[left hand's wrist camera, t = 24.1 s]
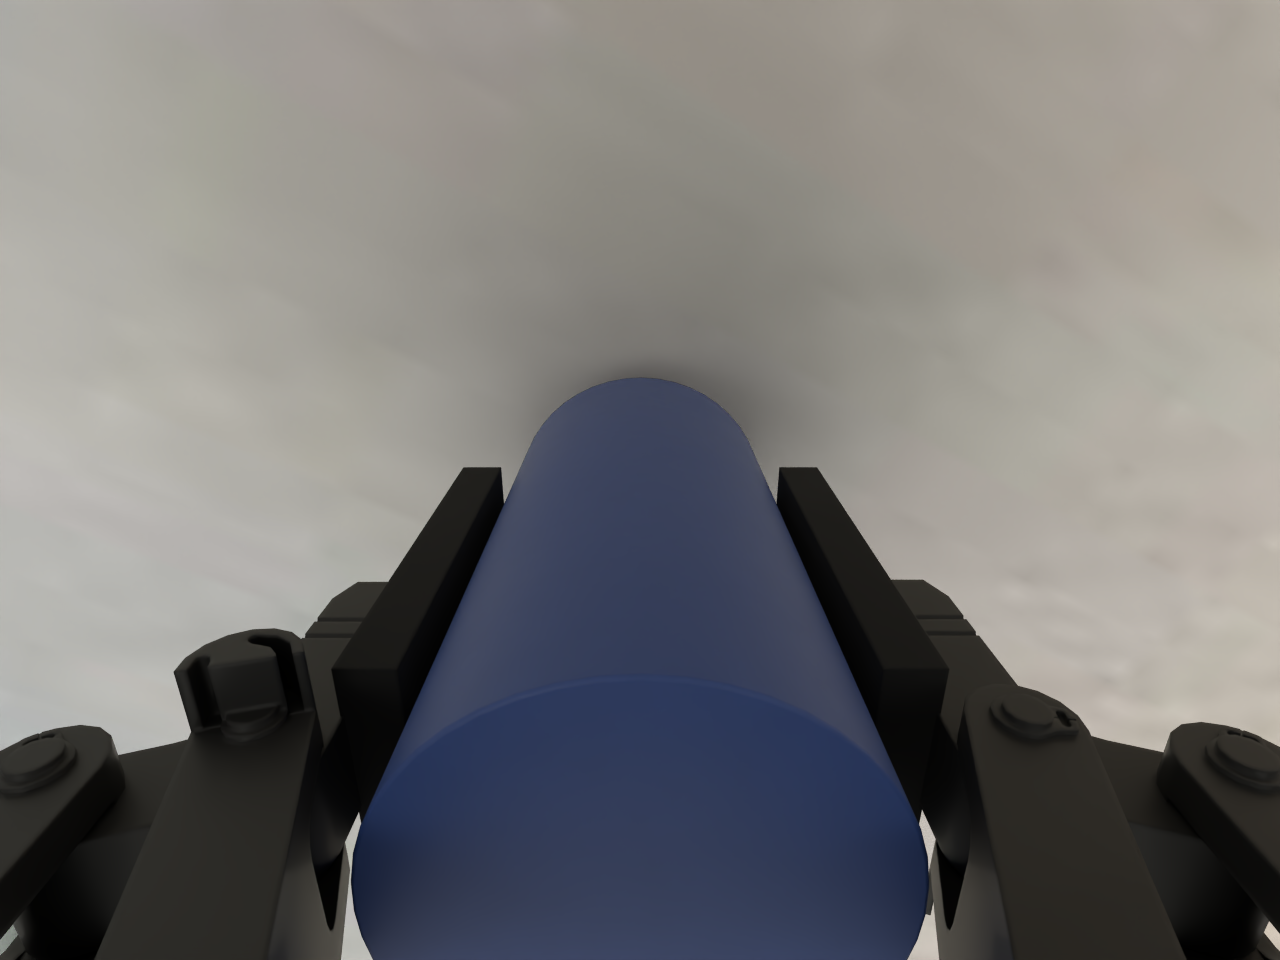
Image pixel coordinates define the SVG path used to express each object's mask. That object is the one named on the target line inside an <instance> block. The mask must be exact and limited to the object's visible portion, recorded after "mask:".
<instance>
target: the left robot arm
mask: <svg viewBox="0 0 1280 960" xmlns="http://www.w3.org/2000/svg"><path fill="white" fill-rule="evenodd" d="M503 506H504V499H503V486H502V473H501V467H464V468H463V469H462V471H461V472H460V474H459V475H458V477H457V478H456V480H455V481H454V483H453V484H452V486H451V487H450V489H449V490H448V492H447V493H446V495H445V496H444V498H443V499H442V501H441V503H440V504H439V506H438V507H437V509H436V510H435V512H434V513H433V515H432V516H431V518H430V519H429V521H428V522H427V524H426V525H425V527H424V528H423V530H422V531H421V533H420V534H419V536H418V537H417V539H416V541H415V542H414V544H413V545H412V547H411V548H410V550H409V551H408V553H407V554H406V556H405V557H404V559H403V560H402V562H401V563H400V565H399V566H398V568H397V569H396V571H395V572H394V574H393V575H392V577H391V579H390V580H389V582H357V583H356V584H354V585H353V586H351V587H349V588H348V589H346V590H345V591H343V592H342V593H340V594H339V595H337V596H336V597H334V598H333V599H332V600H331V601H330V603H329V604H328V605H327V606H326V608H325V609H324V610H323V612H322V613H321V614H320V615H319V617H318V621H317V622H314V623H313V625H312V626H311V627H310V628H309V630H308V631H307V632H306V634H305V638H302V639H300V638H299V637H298V636H296V635H295V634H294V633H292V632H289V631H284V630H280V629H275V628H274V629H253V630H248V631H244V632H240V633H236V634H231V635H228V636H225V637H223V638H220V639H218V640H216V641H213V642H211V643H208V644H206V645H204V646H202V647H201V648H199V649H198V650H196V651H195V652H193V653H192V654H190V655H189V656H187V657H186V658H185V659H184V660H183V661H182V662H181V664H180V665H179V666H178V667H177V668H176V670H175V671H174V675H175V678H176V682H177V685H178V688H179V692H180V695H181V699H182V702H183V705H184V709H185V712H186V715H187V719H188V722H189V726H190V729H191V734H190V736H189V738H188V740H184V741H181V742H177V743H173V744H169V745H164V746H159V747H154V748H150V749H145V750H140V751H136V752H131V753H126V754H122V755H118V754H117V751H116V748H115V745H114V742H113V739H112V737H111V735H110V734H108V733H107V732H106V731H104V730H103V729H102V728H100V727H93V726H85V725H77V726H70V727H63V728H56V729H52V730H49V731H45V732H42V733H40V734H35V735H32V736H30V737H27V738H25V739H23V740H21V741H19V742H17V743H15V744H13V745H11V746H9V747H7V748H6V749H4V750H2V751H0V939H1V938H2V937H3V936H4V934H5V933H6V932H7V931H8V930H9V928H10V927H11V926H12V925H14V927H15V929H16V931H17V933H18V936H17V937H16V938H15V940H14V941H13V942H12V943H11V945H10V946H9V947H8V948H7V950H6V951H5V952H3V953H2V954H1V955H0V960H341V953H342V943H343V933H344V924H345V914H346V904H347V894H348V884H349V874H350V867H349V861H348V855H347V850H346V845H345V841H346V839H347V836H348V834H349V832H350V830H351V828H352V826H353V823H354V821H355V819H356V817H357V815H358V812H359V814H360V819H361V823H362V821H363V819H364V817H365V814H366V812H367V810H368V808H369V805H370V803H371V801H372V799H373V797H374V794H375V792H376V790H377V788H378V785H379V783H380V781H381V779H382V776H383V774H384V772H385V770H386V767H387V765H388V763H389V761H390V759H391V756H392V754H393V752H394V750H395V747H396V745H397V743H398V741H399V738H400V736H401V734H402V732H403V729H404V727H405V725H406V723H407V720H408V718H409V716H410V714H411V712H412V709H413V707H414V705H415V703H416V700H417V698H418V696H419V694H420V691H421V689H422V687H423V685H424V682H425V680H426V678H427V676H428V673H429V671H430V669H431V667H432V665H433V662H434V660H435V658H436V656H437V653H438V651H439V649H440V647H441V644H442V642H443V640H444V638H445V635H446V633H447V631H448V629H449V626H450V624H451V622H452V620H453V618H454V615H455V613H456V611H457V609H458V606H459V604H460V602H461V600H462V597H463V595H464V593H465V591H466V588H467V586H468V584H469V582H470V580H471V577H472V575H473V573H474V571H475V568H476V566H477V564H478V562H479V559H480V557H481V555H482V553H483V550H484V548H485V546H486V544H487V541H488V539H489V537H490V535H491V533H492V530H493V528H494V526H495V524H496V521H497V519H498V517H499V515H500V512H501V510H502V508H503ZM777 507H778V509H779V511H780V513H781V516H782V518H783V520H784V522H785V525H786V527H787V529H788V531H789V534H790V536H791V538H792V540H793V543H794V545H795V547H796V549H797V552H798V554H799V556H800V558H801V561H802V563H803V565H804V567H805V570H806V572H807V574H808V576H809V579H810V581H811V583H812V585H813V588H814V590H815V592H816V594H817V597H818V599H819V601H820V603H821V606H822V608H823V610H824V612H825V615H826V617H827V619H828V621H829V624H830V626H831V628H832V630H833V633H834V635H835V637H836V639H837V642H838V644H839V646H840V648H841V651H842V653H843V655H844V657H845V660H846V662H847V664H848V666H849V669H850V671H851V673H852V675H853V678H854V680H855V682H856V684H857V687H858V689H859V691H860V693H861V696H862V698H863V700H864V702H865V705H866V707H867V709H868V711H869V714H870V716H871V718H872V720H873V723H874V725H875V727H876V729H877V732H878V734H879V736H880V738H881V741H882V743H883V745H884V747H885V750H886V752H887V754H888V756H889V758H890V761H891V763H892V765H893V767H894V770H895V772H896V774H897V776H898V779H899V781H900V783H901V785H902V788H903V790H904V792H905V794H906V797H907V799H908V801H909V803H910V806H911V808H912V810H913V812H914V815H915V817H916V819H917V821H918V824H919V822H920V817H921V811H922V810H923V812H924V814H925V817H926V819H927V821H928V823H929V825H930V827H931V830H932V832H933V834H934V836H935V838H936V841H935V845H934V850H933V855H932V860H931V864H930V869H929V892H928V899H927V907H926V914H928V915H931V910H932V906H933V902H934V912H935V922H936V931H937V941H938V951H939V960H1280V951H1279V950H1278V949H1277V948H1276V947H1275V946H1274V945H1273V943H1272V942H1271V941H1270V940H1269V938H1268V937H1267V936H1266V935H1265V933H1264V931H1265V929H1266V926H1267V924H1268V922H1269V921H1270V922H1271V924H1272V925H1273V926H1274V927H1275V928H1276V930H1277V931H1278V932H1279V933H1280V747H1279V746H1277V745H1275V744H1273V743H1271V742H1269V741H1267V740H1265V739H1262V738H1261V737H1259V736H1257V735H1255V734H1252V733H1250V732H1247V731H1242V730H1240V729H1237V728H1233V727H1229V726H1225V725H1218V724H1211V723H1204V722H1198V723H1189V724H1181V725H1180V726H1179V727H1177V728H1176V729H1175V730H1173V731H1172V732H1171V733H1170V736H1169V739H1168V741H1167V744H1166V747H1165V750H1164V752H1159V751H1154V750H1149V749H1145V748H1140V747H1135V746H1131V745H1126V744H1121V743H1117V742H1112V741H1107V740H1104V739H1100V738H1096V737H1093V736H1091V735H1090V732H1089V730H1088V729H1087V728H1086V726H1085V725H1084V723H1083V722H1082V721H1081V719H1080V718H1079V716H1078V715H1077V714H1075V713H1074V712H1073V711H1071V710H1070V709H1069V708H1067V707H1066V706H1065V705H1063V704H1062V703H1061V702H1059V701H1057V700H1055V699H1053V698H1051V697H1049V696H1047V695H1045V694H1043V693H1040V692H1038V691H1035V690H1032V689H1028V688H1024V687H1020V686H1018V685H1017V684H1016V683H1015V681H1014V680H1013V679H1012V678H1011V676H1010V675H1009V674H1008V672H1007V671H1006V670H1005V669H1004V667H1003V666H1002V665H1001V663H1000V662H999V661H998V660H997V658H996V657H995V656H994V654H993V653H992V652H991V651H990V649H989V648H988V647H987V645H986V644H985V643H984V642H983V640H982V639H981V638H980V636H976V631H975V630H974V629H973V627H972V626H971V625H970V623H969V622H968V621H967V620H966V619H963V614H962V613H961V612H960V611H959V609H958V608H957V607H956V605H955V604H954V603H953V602H952V600H951V599H950V598H949V596H947V595H946V594H944V593H943V592H941V591H940V590H938V589H936V588H935V587H933V586H932V585H930V584H929V583H927V582H926V581H924V580H891V579H890V578H889V576H888V575H887V573H886V572H885V570H884V569H883V567H882V566H881V564H880V562H879V561H878V559H877V558H876V556H875V555H874V553H873V552H872V550H871V549H870V547H869V546H868V544H867V543H866V541H865V540H864V538H863V537H862V535H861V534H860V532H859V531H858V529H857V528H856V526H855V524H854V523H853V521H852V520H851V518H850V517H849V515H848V514H847V512H846V511H845V509H844V508H843V506H842V505H841V503H840V502H839V500H838V499H837V497H836V496H835V494H834V493H833V491H832V490H831V488H830V486H829V485H828V483H827V482H826V480H825V479H824V477H823V476H822V474H821V473H820V471H819V470H818V468H817V467H779V480H778V493H777Z"/></svg>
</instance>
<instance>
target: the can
mask: <svg viewBox="0 0 1280 960" xmlns="http://www.w3.org/2000/svg"><path fill="white" fill-rule="evenodd" d="M351 887H352V896H353V905H354V912H355V916H356V919H357V922H358V926H359V929H360V932H361V936H362V938H363V940H364V942H365V944H366V946H367V948H368V950H369V952H370V954H371V956H372V958H373V960H907V959H908V957H909V955H910V953H911V951H912V949H913V947H914V945H915V943H916V942H917V939H918V936H919V933H920V930H921V927H922V924H923V921H924V918H925V914H926V907H927V899H928V892H929V871H928V856H927V852H926V848H925V844H924V840H923V836H922V831H921V828H920V826H919V824H918V821H917V819H916V817H915V815H914V812H913V810H912V808H911V806H910V803H909V801H908V799H907V797H906V794H905V792H904V790H903V788H902V785H901V783H900V781H899V779H898V776H897V774H896V772H895V770H894V767H893V765H892V763H891V761H890V758H889V756H888V754H887V752H886V750H885V747H884V745H883V743H882V741H881V738H880V736H879V734H878V732H877V729H876V727H875V725H874V723H873V720H872V718H871V716H870V714H869V711H868V709H867V707H866V705H865V702H864V700H863V698H862V696H861V693H860V691H859V689H858V687H857V684H856V682H855V680H854V678H853V675H852V673H851V671H850V669H849V666H848V664H847V662H846V660H845V657H844V655H843V653H842V651H841V648H840V646H839V644H838V642H837V639H836V637H835V635H834V633H833V630H832V628H831V626H830V624H829V621H828V619H827V617H826V615H825V612H824V610H823V608H822V606H821V603H820V601H819V599H818V597H817V594H816V592H815V590H814V588H813V585H812V583H811V581H810V579H809V576H808V574H807V572H806V570H805V567H804V565H803V563H802V561H801V558H800V556H799V554H798V552H797V549H796V547H795V545H794V543H793V540H792V538H791V536H790V534H789V531H788V529H787V527H786V525H785V522H784V520H783V518H782V516H781V513H780V511H779V509H778V507H777V504H776V502H775V500H774V498H773V495H772V493H771V491H770V489H769V486H768V484H767V482H766V480H765V477H764V475H763V473H762V471H761V468H760V466H759V464H758V462H757V459H756V457H755V455H754V453H753V450H752V448H751V446H750V444H749V441H748V439H747V438H746V436H745V434H744V433H743V431H742V430H741V428H740V427H739V425H738V424H737V423H736V422H735V420H734V419H733V418H732V417H731V416H730V415H729V414H728V413H727V412H726V411H725V410H724V409H723V408H722V407H721V406H719V405H718V404H717V403H716V402H714V401H713V400H711V399H710V398H708V397H707V396H705V395H704V394H702V393H700V392H698V391H696V390H694V389H692V388H690V387H687V386H684V385H681V384H678V383H675V382H671V381H666V380H661V379H653V378H627V379H620V380H615V381H610V382H606V383H603V384H600V385H597V386H594V387H591V388H589V389H587V390H585V391H583V392H581V393H579V394H577V395H576V396H574V397H573V398H571V399H570V400H568V401H566V402H565V403H564V404H563V405H561V406H560V407H559V408H558V409H557V410H556V411H555V412H553V413H552V415H551V416H550V417H549V418H548V419H547V420H546V421H545V423H544V424H543V425H542V426H541V428H540V429H539V431H538V433H537V434H536V436H535V437H534V439H533V441H532V443H531V446H530V448H529V450H528V452H527V454H526V456H525V459H524V461H523V463H522V465H521V468H520V470H519V472H518V474H517V477H516V479H515V481H514V483H513V486H512V488H511V490H510V492H509V494H508V497H507V499H506V501H505V503H504V506H503V508H502V510H501V512H500V515H499V517H498V519H497V521H496V524H495V526H494V528H493V530H492V533H491V535H490V537H489V539H488V541H487V544H486V546H485V548H484V550H483V553H482V555H481V557H480V559H479V562H478V564H477V566H476V568H475V571H474V573H473V575H472V577H471V580H470V582H469V584H468V586H467V588H466V591H465V593H464V595H463V597H462V600H461V602H460V604H459V606H458V609H457V611H456V613H455V615H454V618H453V620H452V622H451V624H450V626H449V629H448V631H447V633H446V635H445V638H444V640H443V642H442V644H441V647H440V649H439V651H438V653H437V656H436V658H435V660H434V662H433V665H432V667H431V669H430V671H429V673H428V676H427V678H426V680H425V682H424V685H423V687H422V689H421V691H420V694H419V696H418V698H417V700H416V703H415V705H414V707H413V709H412V712H411V714H410V716H409V718H408V720H407V723H406V725H405V727H404V729H403V732H402V734H401V736H400V738H399V741H398V743H397V745H396V747H395V750H394V752H393V754H392V756H391V759H390V761H389V763H388V765H387V767H386V770H385V772H384V774H383V776H382V779H381V781H380V783H379V785H378V788H377V790H376V792H375V794H374V797H373V799H372V801H371V803H370V805H369V808H368V810H367V812H366V814H365V817H364V819H363V821H362V823H361V826H360V829H359V833H358V837H357V840H356V844H355V848H354V852H353V861H352V874H351Z"/></svg>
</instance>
